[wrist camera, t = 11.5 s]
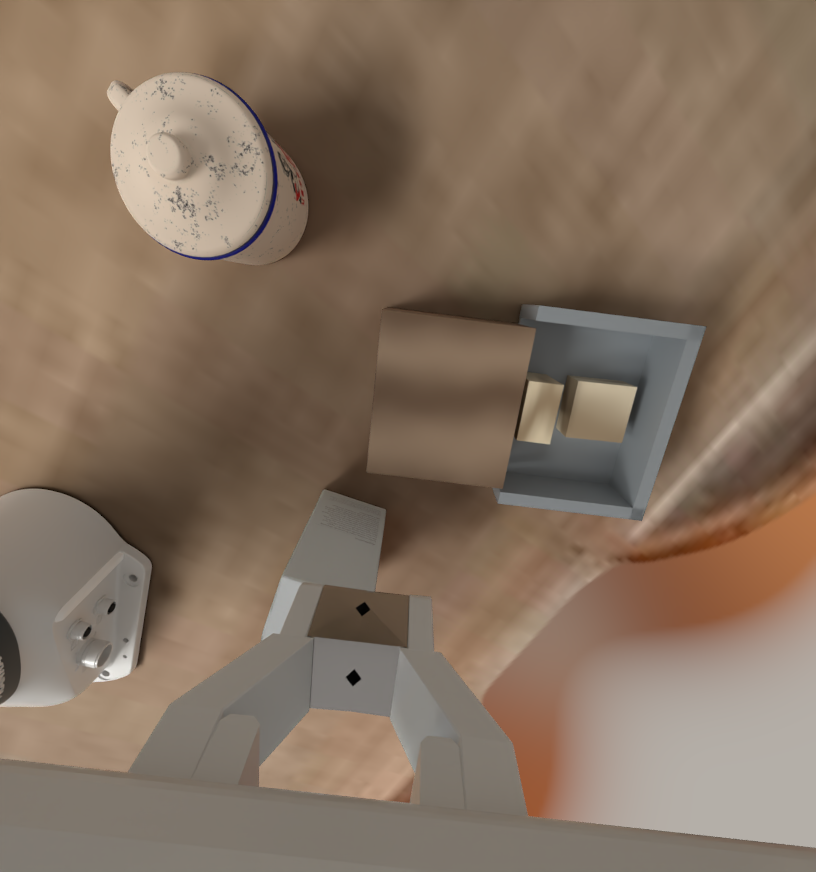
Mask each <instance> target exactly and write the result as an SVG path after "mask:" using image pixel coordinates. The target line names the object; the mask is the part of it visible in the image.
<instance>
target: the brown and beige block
mask: <svg viewBox="0 0 816 872" xmlns="http://www.w3.org/2000/svg"><path fill="white" fill-rule="evenodd" d="M535 333H536V328H532V327H529V326H525V325H521V324H517V323H509V322H501V321H493V320H485V319H477V318H469V317H461V316H453V315H445V314H437V313H429V312H421V311H413V310H405V309H398V308H390V307H387V308H384V309H382V314H381V324H380V335H379V345H378V355H377V366H376V376H375V387H374V397H373V407H372V418H371V428H370V439H369V449H368V459H367V470H366V473H374V474H382V475H391V476H399V477H407V478H416V479H424V480H432V481H441V482H449V483H457V484H466V485H474V486H482V487H490V488H499V489H503V485H504V481H505V476H506V471H507V466H508V461H509V457H510V452H511V447H512V442H513V438H514V433H515V428H516V423H517V419H518V414H519V409H520V404H521V399H522V395H523V390H524V385H525V380H526V376H527V371H528V366H529V361H530V356H531V352H532V347H533V342H534V337H535Z"/></svg>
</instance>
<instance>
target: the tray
mask: <svg viewBox="0 0 816 872" xmlns="http://www.w3.org/2000/svg"><path fill="white" fill-rule="evenodd" d="M518 324H521V325H525V326H529V327H532V328H536V333H535V337H534V342H533V347H532V352H531V356H530V361H529V366H528V371H527V372H532V373H540V374H546V375H548V376H550V377H551V378H553V379H555V380H556V381H558V382H559V383H561V384H563V385H564V387H563V392H562V396H561V400H560V404H559V408H558V412H557V417H556V421H555V425H554V429H553V433H552V437H551V442H550V444H543V443H534V442H526V441H518V440H516V439H515V437H514V438H513V442H512V447H511V452H510V457H509V461H508V466H507V471H506V476H505V481H504V485H503V489H499V488H492V489H493V492H494V494H495V497H496V500H497V502H498V504H507V505H515V506H523V507H532V508H540V509H548V510H557V511H565V512H573V513H582V514H590V515H598V516H607V517H615V518H623V519H632V520H640V521H642V519H643V516H644V513H645V510H646V507H647V504H648V501H649V498H650V495H651V492H652V489H653V486H654V483H655V480H656V477H657V474H658V471H659V468H660V465H661V462H662V459H663V456H664V453H665V450H666V447H667V444H668V441H669V438H670V435H671V432H672V429H673V426H674V423H675V420H676V417H677V414H678V411H679V408H680V405H681V402H682V399H683V396H684V392H685V389H686V386H687V383H688V380H689V377H690V374H691V371H692V368H693V365H694V362H695V359H696V356H697V353H698V350H699V347H700V344H701V341H702V338H703V335H704V332H705V329H706V326H698V325H690V324H682V323H674V322H666V321H658V320H651V319H643V318H635V317H627V316H619V315H611V314H603V313H595V312H587V311H579V310H572V309H564V308H556V307H548V306H540V305H527V304H522V307H521V312H520V317H519V322H518ZM567 375H571V376H580V377H589V378H599V379H608V380H617V381H623V382H626V383H628V384H631V385H633V386H636V387H637V390H636V394H635V398H634V401H633V405H632V408H631V412H630V416H629V419H628V423H627V427H626V430H625V434H624V437H623V441H622V443H617V442H607V441H598V440H588V439H579V438H569V437H565V436H564V435H563V434H562V433H561V432H560V431H559V430H558V429H557V428H556V425H557V420H558V416H559V411H560V407H561V402H562V398H563V393H564V389H565V384H566V380H567Z"/></svg>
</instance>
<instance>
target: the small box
mask: <svg viewBox="0 0 816 872" xmlns="http://www.w3.org/2000/svg"><path fill="white" fill-rule="evenodd" d="M385 518H386V510H385V509H383V508H380V507H377V506H374V505H371V504H368V503H365V502H362V501H359V500H356V499H353V498H350V497H347V496H344V495H341V494H338V493H335V492H332V491H328V490H325V489H324V490H323V491H322V493H321V495H320V497H319V500H318V502H317V504H316V506H315V508H314V510H313V512H312V514H311V516H310V518H309V520H308V522H307V524H306V526H305V529H304V531H303V533H302V535H301V537H300V539H299V541H298V543H297V545H296V547H295V549H294V552H293V554H292V556H291V558H290V560H289V562H288V564H287V566H286V568H285V570H284V572H283V575H282V577H281V579H280V582H279V585H278V588H277V591H276V594H275V597H274V600H273V603H272V606H271V609H270V612H269V615H268V618H267V620H266V623H265V627H264V630H263V633H262V638H261V641H263V640H264V639H265V638H267V637H268V636H270V635H271V634H273V633H275V634H280V632H281V630H282V627H283V625H284V622H285V620H286V618H287V615H288V613H289V610H290V608H291V606H292V603H293V601H294V598H295V596H296V594H297V591H298V589H299V586H300V585H301V584H302V583H303V582H307V583H315V584H322V585H331V586H339V587H346V588H353V589H360V590H367V591H374V592H375V589H376V582H377V574H378V568H379V560H380V553H381V546H382V539H383V532H384V525H385Z"/></svg>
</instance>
